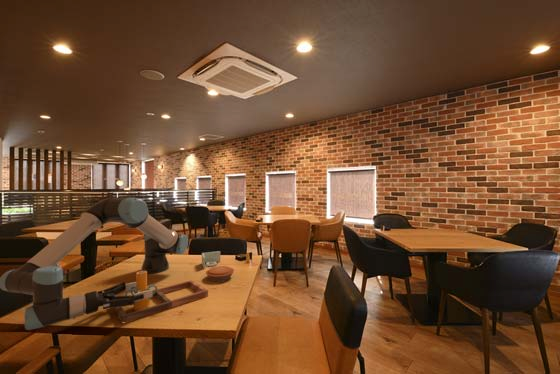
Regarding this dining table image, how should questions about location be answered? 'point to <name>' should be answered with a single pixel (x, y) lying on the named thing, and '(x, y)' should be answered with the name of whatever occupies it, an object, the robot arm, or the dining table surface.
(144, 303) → the orange post with rings
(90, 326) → the dining table surface
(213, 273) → the pie
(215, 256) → the right angle wall
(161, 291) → the rail frame
